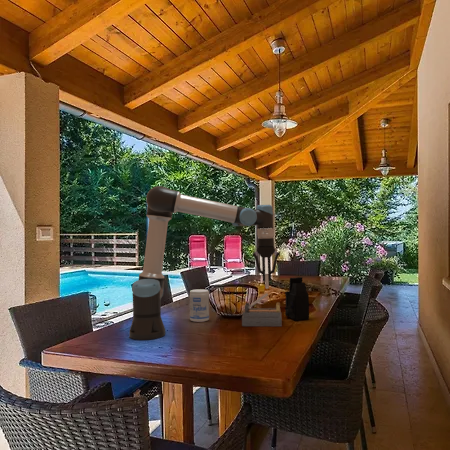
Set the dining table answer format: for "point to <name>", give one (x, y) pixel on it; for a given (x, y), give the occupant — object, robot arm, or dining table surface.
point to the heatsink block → (262, 316)
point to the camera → (297, 300)
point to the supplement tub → (199, 305)
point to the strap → (260, 298)
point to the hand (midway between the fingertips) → (267, 288)
